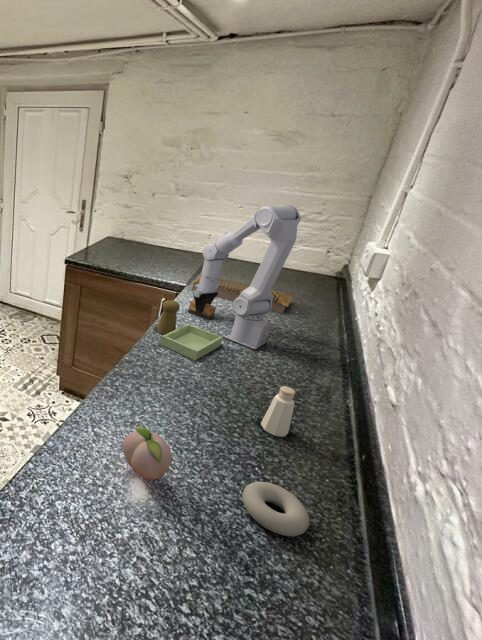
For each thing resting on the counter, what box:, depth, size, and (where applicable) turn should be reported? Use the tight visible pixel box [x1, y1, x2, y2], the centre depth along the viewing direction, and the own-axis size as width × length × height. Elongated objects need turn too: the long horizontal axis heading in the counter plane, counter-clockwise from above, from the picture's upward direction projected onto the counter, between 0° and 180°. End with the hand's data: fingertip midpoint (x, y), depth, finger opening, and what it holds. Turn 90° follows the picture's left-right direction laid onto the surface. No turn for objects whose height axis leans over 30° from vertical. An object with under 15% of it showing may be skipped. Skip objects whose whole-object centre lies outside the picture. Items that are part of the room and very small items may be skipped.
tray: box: [160, 323, 224, 361], centre depth 126 cm, size 12×16×3 cm
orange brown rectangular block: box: [187, 299, 217, 321], centre depth 147 cm, size 8×4×4 cm, turn 37°
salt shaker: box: [260, 385, 296, 438], centre depth 89 cm, size 5×5×11 cm
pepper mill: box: [156, 299, 180, 335], centre depth 133 cm, size 6×6×11 cm
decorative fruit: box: [122, 426, 173, 480], centre depth 77 cm, size 9×8×10 cm
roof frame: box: [190, 275, 294, 314], centre depth 165 cm, size 35×14×6 cm, turn 48°
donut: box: [241, 481, 310, 537], centre depth 70 cm, size 10×4×10 cm
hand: (201, 310), depth 148 cm, fingers closed on orange brown rectangular block, 3 cm apart
